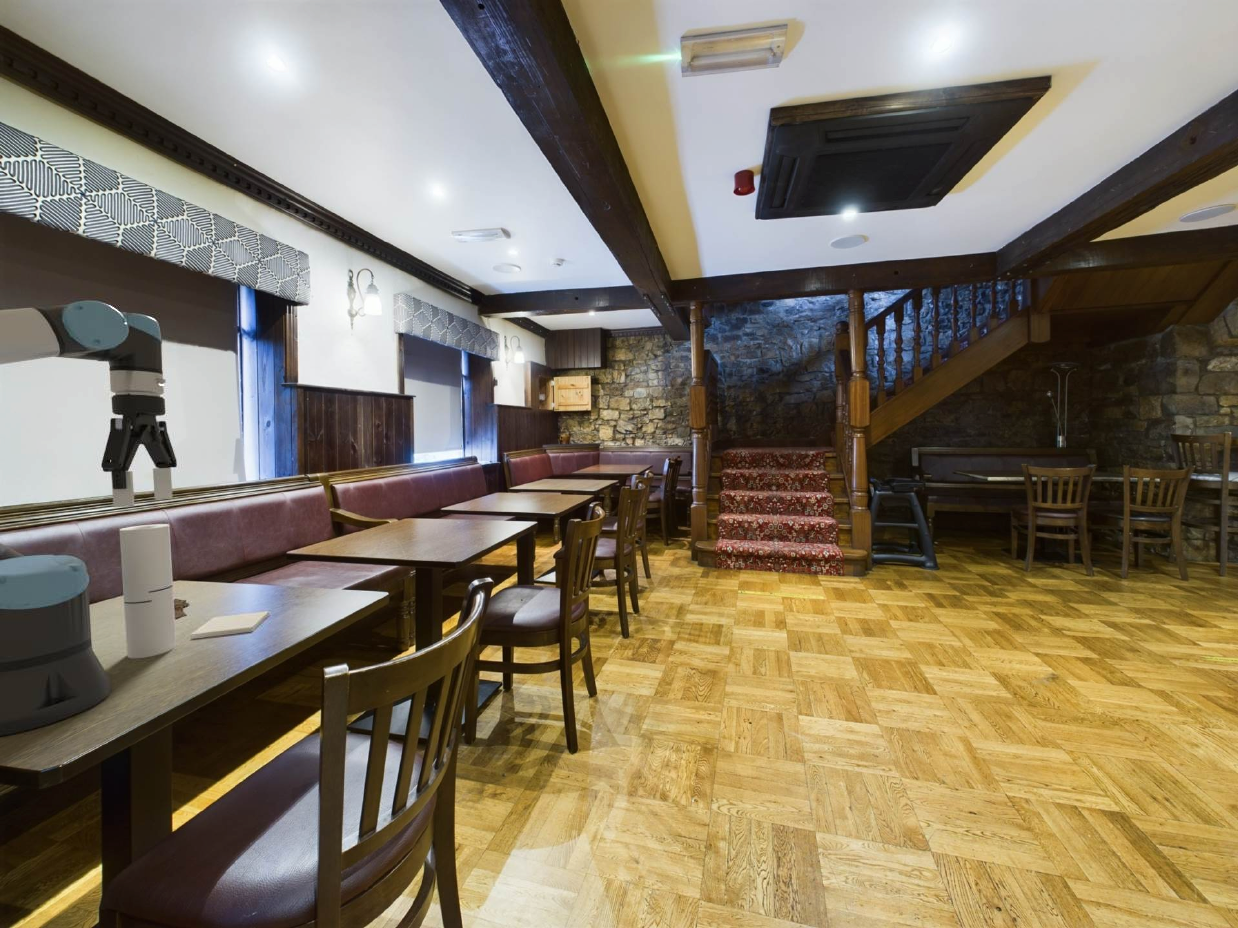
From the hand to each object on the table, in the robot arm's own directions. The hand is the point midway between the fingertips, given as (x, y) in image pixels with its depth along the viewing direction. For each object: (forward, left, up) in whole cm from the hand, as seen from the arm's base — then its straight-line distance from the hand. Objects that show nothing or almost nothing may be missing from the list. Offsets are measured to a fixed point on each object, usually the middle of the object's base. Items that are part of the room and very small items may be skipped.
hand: (145, 502), depth 98 cm
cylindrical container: (0, 0, -30) cm, 30 cm away
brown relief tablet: (+30, +12, -30) cm, 44 cm away
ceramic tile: (+10, -10, -30) cm, 33 cm away
